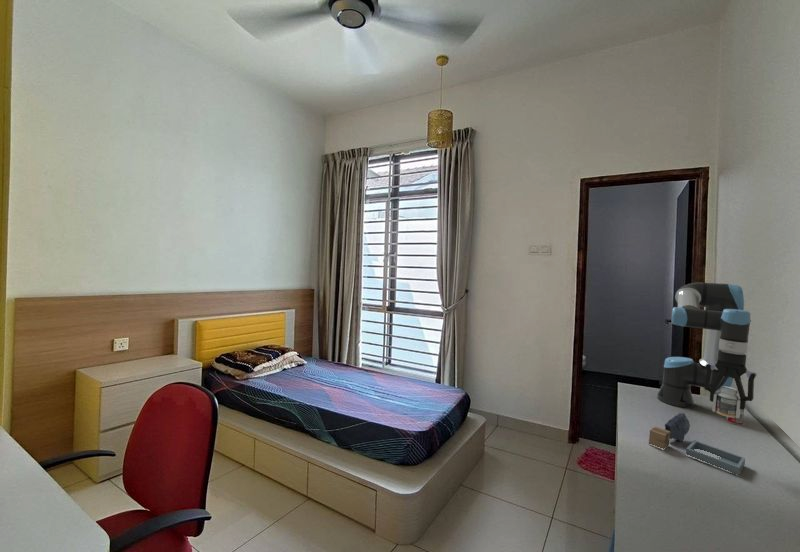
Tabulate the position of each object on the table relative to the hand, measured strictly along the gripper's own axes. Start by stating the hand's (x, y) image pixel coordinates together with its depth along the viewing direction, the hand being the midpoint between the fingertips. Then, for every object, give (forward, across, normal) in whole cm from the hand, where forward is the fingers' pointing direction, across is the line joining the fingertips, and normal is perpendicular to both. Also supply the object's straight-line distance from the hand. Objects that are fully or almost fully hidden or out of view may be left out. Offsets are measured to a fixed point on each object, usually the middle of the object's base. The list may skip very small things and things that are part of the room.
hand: (725, 413), depth 131 cm
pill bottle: (+1, 0, 0) cm, 1 cm away
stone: (+18, -15, +5) cm, 24 cm away
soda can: (+17, -4, +48) cm, 52 cm away
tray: (+18, -1, -3) cm, 18 cm away
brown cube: (+18, -17, -7) cm, 26 cm away
